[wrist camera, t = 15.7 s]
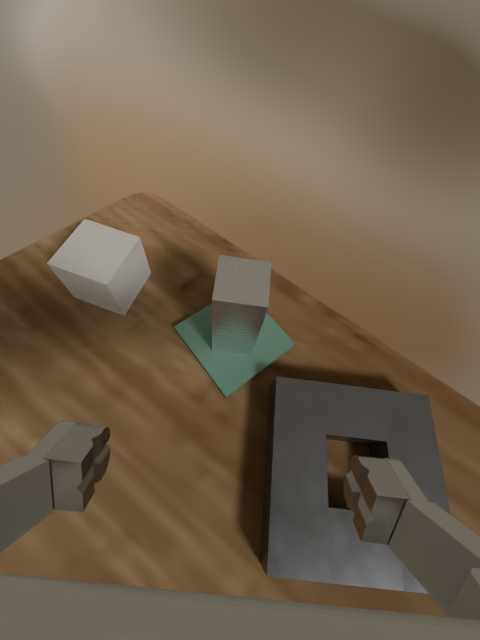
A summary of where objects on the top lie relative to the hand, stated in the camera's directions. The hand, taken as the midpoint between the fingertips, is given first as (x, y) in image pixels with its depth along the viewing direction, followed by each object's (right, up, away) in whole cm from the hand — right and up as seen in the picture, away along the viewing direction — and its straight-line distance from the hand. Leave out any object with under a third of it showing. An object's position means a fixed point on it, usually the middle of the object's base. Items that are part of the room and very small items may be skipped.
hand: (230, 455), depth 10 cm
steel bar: (0, +3, +21) cm, 21 cm away
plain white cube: (-14, +8, +23) cm, 28 cm away
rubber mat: (0, +3, +21) cm, 21 cm away
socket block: (+10, -9, +16) cm, 21 cm away
